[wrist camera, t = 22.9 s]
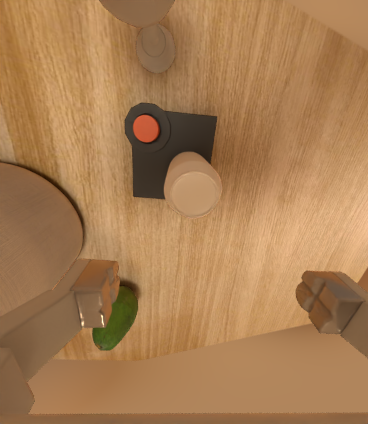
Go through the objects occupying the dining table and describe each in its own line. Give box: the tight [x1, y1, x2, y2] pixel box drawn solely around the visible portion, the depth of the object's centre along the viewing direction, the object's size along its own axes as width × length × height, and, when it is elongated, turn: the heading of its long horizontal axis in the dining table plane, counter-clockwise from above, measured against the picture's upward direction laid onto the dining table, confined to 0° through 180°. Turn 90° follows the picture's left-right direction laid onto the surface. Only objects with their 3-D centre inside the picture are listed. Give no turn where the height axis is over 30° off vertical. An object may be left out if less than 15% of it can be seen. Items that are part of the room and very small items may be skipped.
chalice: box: [99, 0, 175, 73], centre depth 15 cm, size 7×7×18 cm
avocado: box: [92, 286, 138, 351], centre depth 35 cm, size 8×8×12 cm
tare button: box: [133, 115, 160, 142], centre depth 24 cm, size 3×3×2 cm
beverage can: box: [164, 152, 222, 218], centre depth 23 cm, size 6×6×12 cm
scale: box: [125, 103, 217, 199], centre depth 28 cm, size 14×12×3 cm
